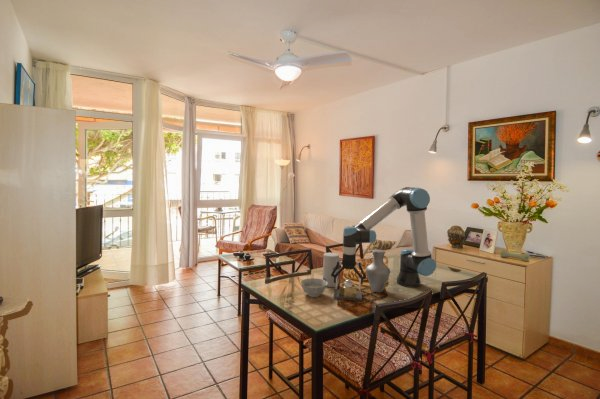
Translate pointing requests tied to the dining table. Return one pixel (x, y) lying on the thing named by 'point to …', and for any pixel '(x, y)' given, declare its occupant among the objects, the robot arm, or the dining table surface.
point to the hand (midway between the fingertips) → (348, 289)
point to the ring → (348, 290)
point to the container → (330, 268)
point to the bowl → (313, 286)
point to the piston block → (337, 296)
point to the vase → (377, 271)
